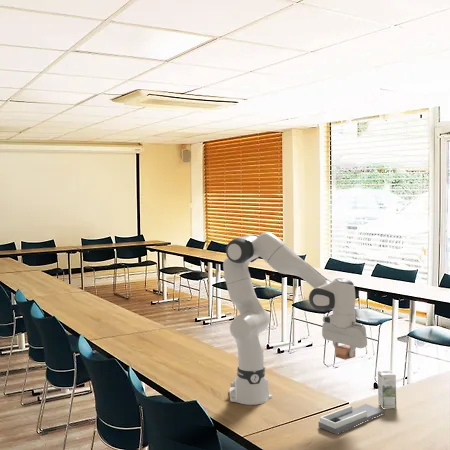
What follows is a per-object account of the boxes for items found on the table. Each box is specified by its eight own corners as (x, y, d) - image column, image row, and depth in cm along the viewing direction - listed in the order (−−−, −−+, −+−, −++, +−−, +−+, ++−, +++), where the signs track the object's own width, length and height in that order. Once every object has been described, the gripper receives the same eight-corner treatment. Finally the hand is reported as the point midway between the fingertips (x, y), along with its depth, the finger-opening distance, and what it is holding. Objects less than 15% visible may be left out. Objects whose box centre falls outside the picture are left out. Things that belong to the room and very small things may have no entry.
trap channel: (336, 434, 208) (336, 424, 208) (318, 426, 216) (318, 416, 215) (384, 415, 226) (384, 405, 225) (365, 408, 233) (365, 399, 232)
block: (345, 359, 223) (345, 349, 222) (335, 356, 227) (335, 347, 226) (355, 356, 226) (355, 346, 226) (345, 354, 230) (345, 344, 230)
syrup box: (392, 404, 237) (391, 369, 236) (397, 409, 231) (395, 373, 230) (378, 405, 237) (377, 370, 236) (383, 410, 231) (381, 374, 230)
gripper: (370, 323, 219) (370, 358, 220) (330, 314, 235) (330, 347, 236) (360, 325, 215) (360, 362, 216) (319, 317, 231) (319, 350, 232)
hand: (344, 354), depth 226 cm, fingers closed on block, 5 cm apart
